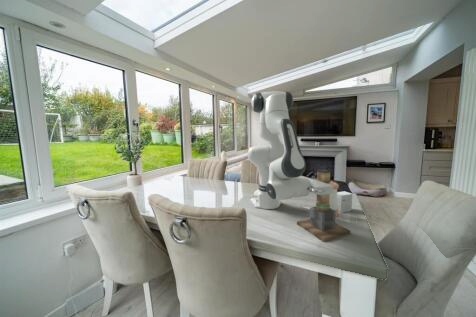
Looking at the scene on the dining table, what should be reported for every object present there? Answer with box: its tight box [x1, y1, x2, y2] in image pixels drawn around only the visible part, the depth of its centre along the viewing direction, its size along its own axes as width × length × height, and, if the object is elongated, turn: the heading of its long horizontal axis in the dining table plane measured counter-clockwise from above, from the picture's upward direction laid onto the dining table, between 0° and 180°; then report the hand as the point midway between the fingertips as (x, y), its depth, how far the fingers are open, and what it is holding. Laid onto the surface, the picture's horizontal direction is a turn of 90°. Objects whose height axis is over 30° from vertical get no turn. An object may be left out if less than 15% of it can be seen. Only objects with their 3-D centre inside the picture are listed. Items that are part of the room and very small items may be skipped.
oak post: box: [315, 168, 331, 212], centre depth 94 cm, size 4×4×21 cm
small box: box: [337, 190, 353, 214], centre depth 117 cm, size 8×6×10 cm
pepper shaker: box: [329, 180, 340, 217], centre depth 112 cm, size 7×7×19 cm
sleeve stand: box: [296, 205, 351, 243], centre depth 96 cm, size 18×16×10 cm
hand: (324, 182), depth 94 cm, fingers open, 7 cm apart
